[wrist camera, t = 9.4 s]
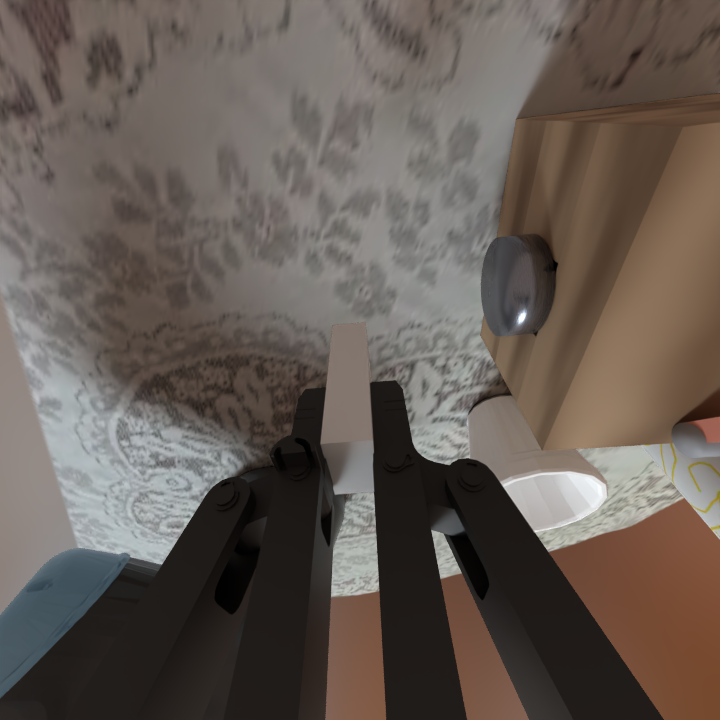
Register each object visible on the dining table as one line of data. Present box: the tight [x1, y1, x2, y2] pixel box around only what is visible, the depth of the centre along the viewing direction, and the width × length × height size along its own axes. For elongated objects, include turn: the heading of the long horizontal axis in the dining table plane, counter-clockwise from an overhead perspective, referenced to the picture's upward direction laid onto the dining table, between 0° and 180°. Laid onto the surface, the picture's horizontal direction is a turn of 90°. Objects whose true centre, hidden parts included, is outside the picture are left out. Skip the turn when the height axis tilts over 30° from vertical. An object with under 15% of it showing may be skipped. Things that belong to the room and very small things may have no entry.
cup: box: [467, 395, 608, 532], centre depth 28 cm, size 10×10×9 cm
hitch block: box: [481, 93, 720, 451], centre depth 16 cm, size 10×14×11 cm
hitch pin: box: [481, 234, 559, 337], centre depth 16 cm, size 15×5×5 cm, turn 96°
